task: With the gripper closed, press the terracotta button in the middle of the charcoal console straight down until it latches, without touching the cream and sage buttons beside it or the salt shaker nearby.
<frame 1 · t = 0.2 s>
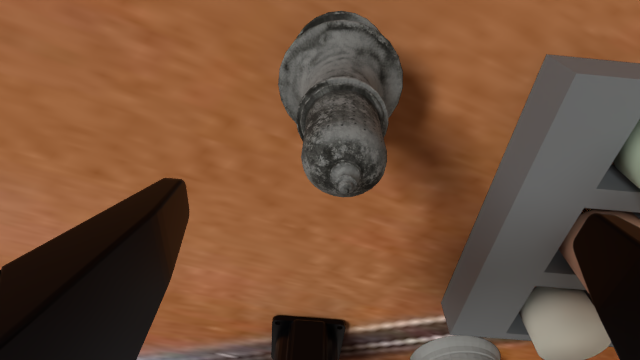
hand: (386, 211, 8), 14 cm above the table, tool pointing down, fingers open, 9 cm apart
salt shaker: (339, 61, 21), on the table
cream button: (561, 322, 27), point 4 cm above the table, slide at 0.0 cm
console: (580, 215, 26), on the table
terracotta button: (612, 253, 23), point 4 cm above the table, slide at 0.0 cm
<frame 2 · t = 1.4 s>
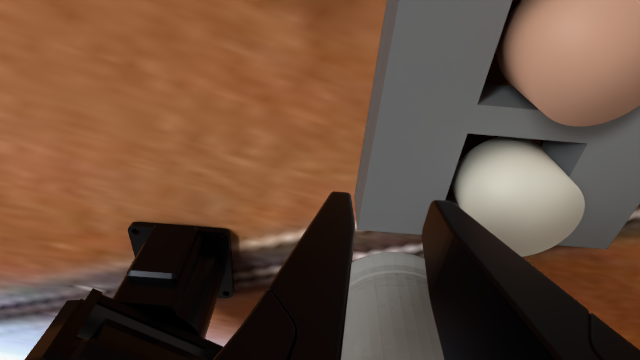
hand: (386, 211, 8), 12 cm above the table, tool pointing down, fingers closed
glass holder: (385, 315, 30), on the table
cream button: (511, 196, 18), point 4 cm above the table, slide at 0.0 cm
console: (535, 27, 17), on the table
terracotta button: (578, 49, 14), point 4 cm above the table, slide at 0.0 cm
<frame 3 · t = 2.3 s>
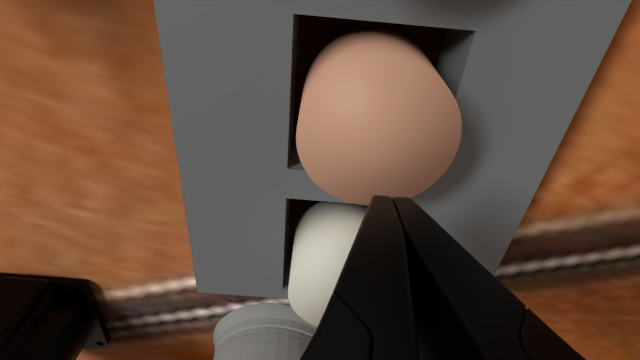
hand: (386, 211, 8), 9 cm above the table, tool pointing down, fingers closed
cream button: (346, 264, 16), point 4 cm above the table, slide at 0.0 cm
console: (364, 78, 16), on the table
terracotta button: (372, 116, 12), point 4 cm above the table, slide at 0.0 cm
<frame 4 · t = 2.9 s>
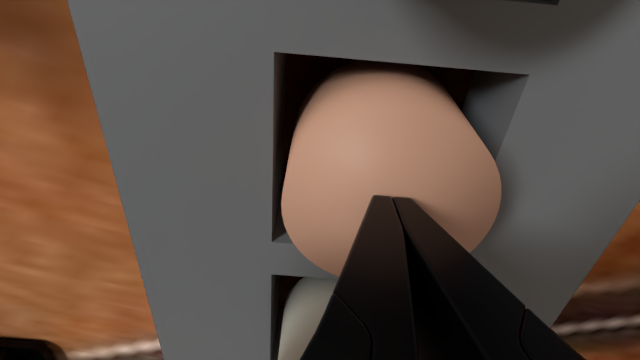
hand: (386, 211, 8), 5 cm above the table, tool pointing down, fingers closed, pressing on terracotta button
cream button: (348, 350, 13), point 4 cm above the table, slide at 0.0 cm
console: (370, 121, 12), on the table
terracotta button: (380, 170, 10), point 3 cm above the table, slide at 0.8 cm, touching gripper
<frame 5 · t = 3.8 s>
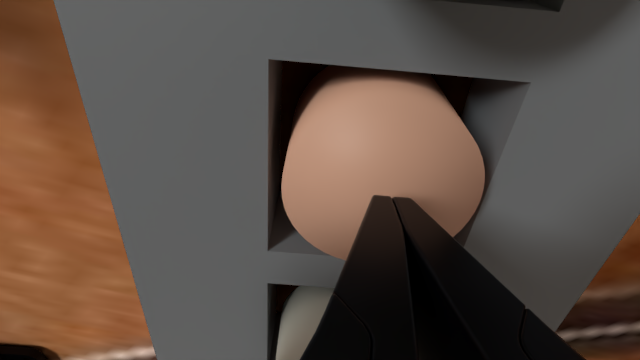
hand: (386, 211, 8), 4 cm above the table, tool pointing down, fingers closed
console: (368, 127, 12), on the table
terracotta button: (374, 157, 10), point 2 cm above the table, slide at 1.8 cm
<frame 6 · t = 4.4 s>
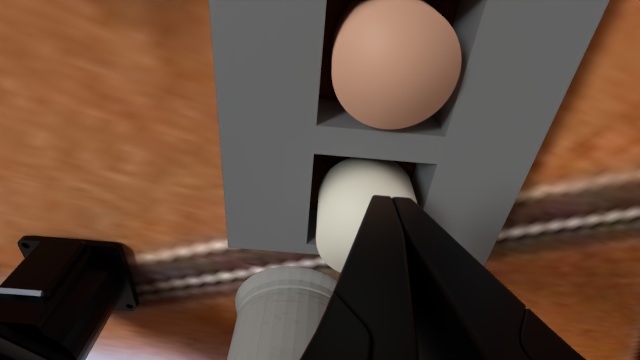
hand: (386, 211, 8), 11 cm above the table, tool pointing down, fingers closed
glass holder: (296, 327, 30), on the table
cream button: (367, 216, 18), point 4 cm above the table, slide at 0.0 cm
console: (384, 45, 17), on the table
terracotta button: (390, 58, 16), point 2 cm above the table, slide at 1.8 cm
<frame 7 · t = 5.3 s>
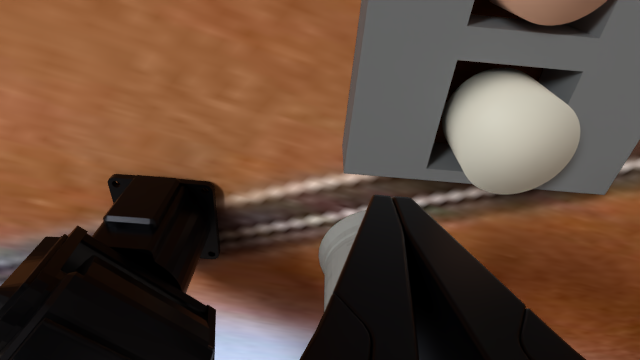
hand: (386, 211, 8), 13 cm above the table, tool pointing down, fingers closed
glass holder: (376, 279, 29), on the table
cream button: (503, 130, 17), point 4 cm above the table, slide at 0.0 cm
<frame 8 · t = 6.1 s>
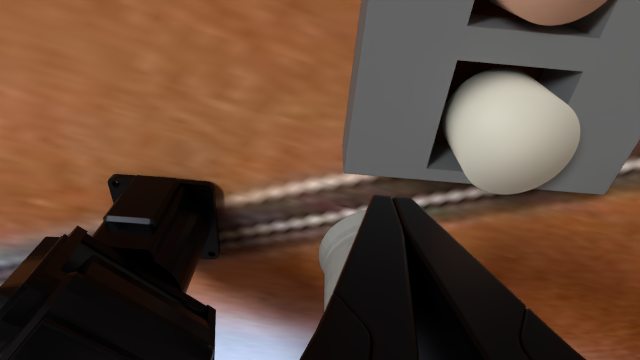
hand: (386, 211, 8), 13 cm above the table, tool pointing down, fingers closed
glass holder: (376, 279, 29), on the table
cream button: (503, 130, 17), point 4 cm above the table, slide at 0.0 cm
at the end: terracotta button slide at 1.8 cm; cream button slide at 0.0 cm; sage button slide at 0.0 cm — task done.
